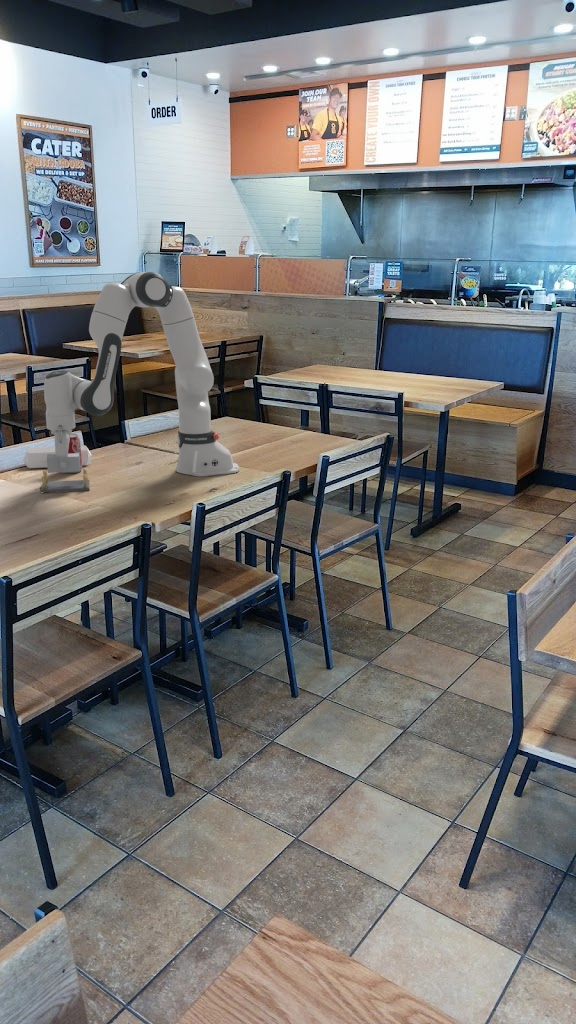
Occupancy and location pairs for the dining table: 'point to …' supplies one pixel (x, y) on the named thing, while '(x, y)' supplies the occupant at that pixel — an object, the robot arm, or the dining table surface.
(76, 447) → the soda can
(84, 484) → the tray
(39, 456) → the white faceted prism
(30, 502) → the dining table surface
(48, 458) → the grey rectangular block
